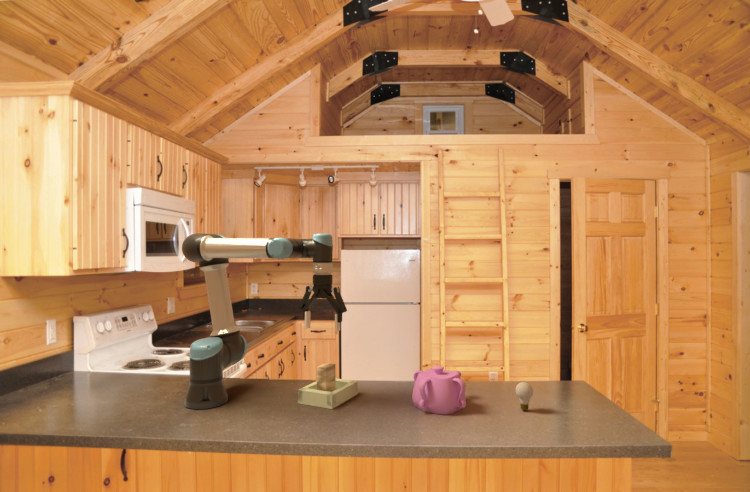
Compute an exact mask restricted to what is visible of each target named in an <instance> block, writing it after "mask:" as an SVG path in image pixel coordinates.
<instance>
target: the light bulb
mask: <svg viewBox="0 0 750 492" xmlns="http://www.w3.org/2000/svg"><path fill="white" fill-rule="evenodd" d="M515 394H516V396H517V397H518V399H519V404H520V410H522V411H523V412H526V411H528V410H529V404H530V400H531V398H532V397H533V395H534V388H533V386H532V385H531V384H530V383H528V382H525V381H521V382H519V383H517V385H516V386H515Z"/></svg>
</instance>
